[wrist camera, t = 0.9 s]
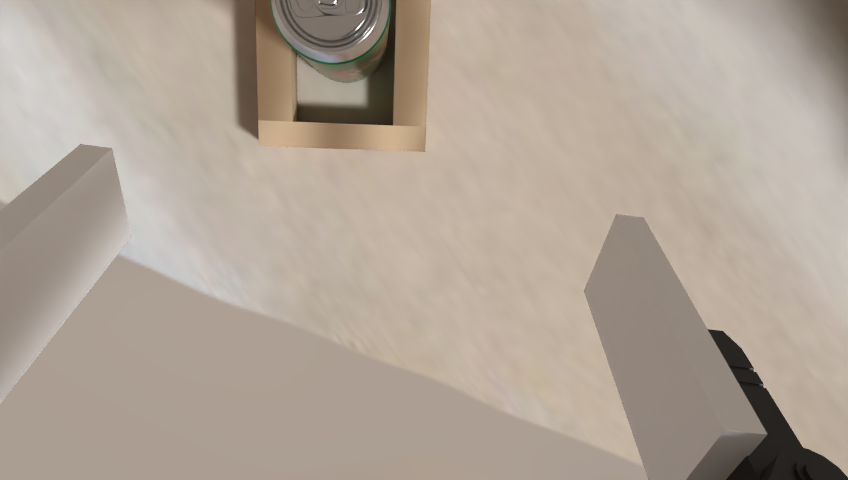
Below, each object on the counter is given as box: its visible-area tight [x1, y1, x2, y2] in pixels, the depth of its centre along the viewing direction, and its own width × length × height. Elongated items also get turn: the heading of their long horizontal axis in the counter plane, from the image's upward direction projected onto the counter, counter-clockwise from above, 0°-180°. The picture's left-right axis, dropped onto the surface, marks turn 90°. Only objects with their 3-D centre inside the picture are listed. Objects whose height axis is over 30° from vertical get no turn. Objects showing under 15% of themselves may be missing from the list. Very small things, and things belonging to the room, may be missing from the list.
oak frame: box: [255, 0, 431, 152], centre depth 31 cm, size 10×13×4 cm
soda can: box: [270, 0, 391, 83], centre depth 27 cm, size 5×5×12 cm
